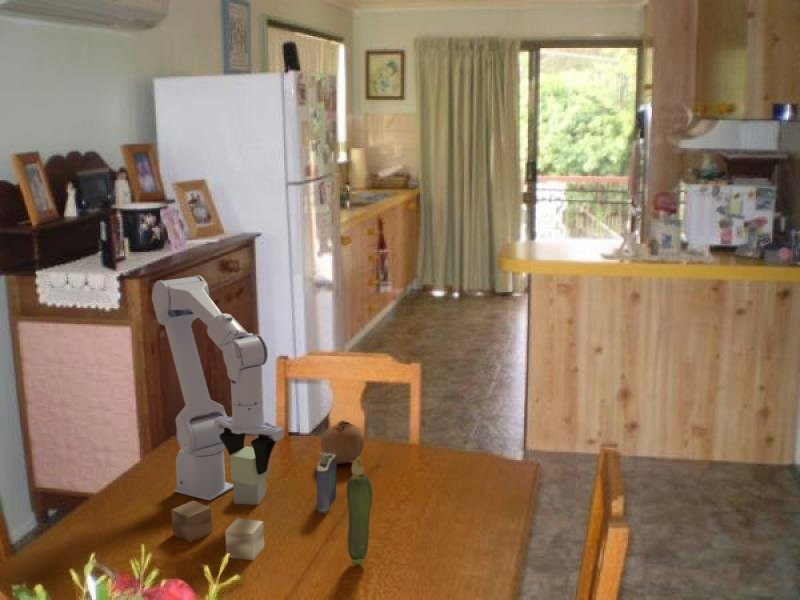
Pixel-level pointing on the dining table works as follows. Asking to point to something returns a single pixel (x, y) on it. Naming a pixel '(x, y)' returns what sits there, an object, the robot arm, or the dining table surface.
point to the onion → (343, 442)
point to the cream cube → (245, 539)
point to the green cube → (246, 467)
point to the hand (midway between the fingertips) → (250, 469)
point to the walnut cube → (191, 521)
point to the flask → (326, 482)
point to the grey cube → (248, 492)
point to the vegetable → (358, 512)
